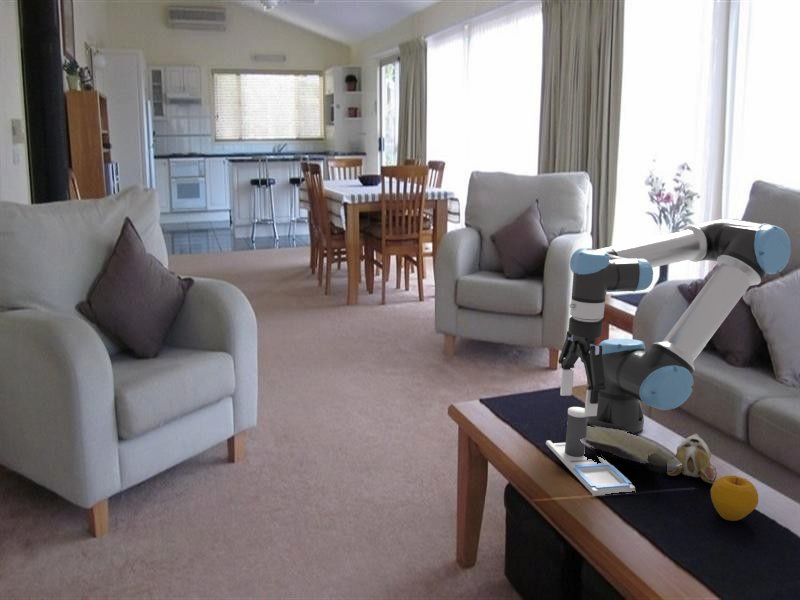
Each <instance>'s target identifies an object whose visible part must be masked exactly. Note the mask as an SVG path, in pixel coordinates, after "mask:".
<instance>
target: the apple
mask: <svg viewBox="0 0 800 600" xmlns="http://www.w3.org/2000/svg"><path fill="white" fill-rule="evenodd" d="M710 498H711V502H712V504H713V507H714V509H715V510H716V512H717V513H718V514H719V516H720V517H721V518H722V519H724V520H726V521H730V522H735V521H740V520H743V519H744V518H745V517H747V516H749V514H751V513H753V512H754V510H755V509H756V508H757V506H758V504H759V493H758V490H757V488H756V487H755V485H754V484H753V483H752V482H751V481H750V480H748V479H747V478H744V477H742V476H737V475H724V476H720V477H719V478H716V479H715V482H713V483H712V486H711V488H710Z"/></svg>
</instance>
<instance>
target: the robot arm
mask: <svg viewBox="0 0 800 600" xmlns="http://www.w3.org/2000/svg"><path fill="white" fill-rule="evenodd" d="M791 251H792V250H791V239H790V237H789V235H788V233H787V232H786V230H784V229H783V228H782V227H781V226H777V225H772V224H770V223H766V222H764V223H760V222H755V221H754V222H753V221H747V220H744V219H743V220H742V219H738V218H725V219H723V218H722V219H716V220H711V221H706V222H700V223H698V224H692V225H688V226H686V227H684V228H683V229H682V230H681V231H679V232H674V233H673V232H672V233H668V234H663V235H658V236H654V237H650V238H646V239H645V238H644V239H642V240H641V239H640V240H635V241H631V242H630V241H629V242H626V243H623V244H622V243H620V244H617V245H613V246H607V247H602V248H598V249H593V248H590V247H582V248H578V249H577V250H575V251H574V252H573V253H572V255H571V257H570V260H569V267H570V271H571V272H572V287H571V300H570V304H569V306H568V307H569V308H570V309H569V311H570V312H569V315H570V317H569V320H568V329H567V331H566V336H565V341H564V344H563V346H562V349H561V352H560V355H559V358H558V364H559V365H560V367H561V369H562V370H561V380H560V381H561V382H560V393H559V395H560V396H562V397H563V396H564V397H567V396H573V392H572V391H573V384H574V375H575V374H574V373H575V370H574V369H575V368H576V367H575V364H576V362H577V361H578V359H579V358H580V362H581V363H583V367H584V371H585V375H586V379H587V383H588V386H587V387H586V393H585V394H586V395H585V403H584V408H585V413H584V416H588V421H587V425H589V424H591V425H596V426H601V427H606V428H613V429H619V430H625V431H629V432H633V434H637V433H639V432H641V431H642V430H644V426H645V425H644V423H645V417H644V414H643V410H642V405H641V404H642V403H641V402H643V403H644V404H645V405H646V406H649V407H652V408H655V409H657V410H661V411H669V410H674V409H677V408H678V407H680V406H682V405H683V404H684V403H685V402H686V401H687V400H688V399H689V397H690V396H691V394H692V392H693V387H692V386H694V378H693V374H694V373H695V369H696V368H695V364H694V361H695V360H696V359H697V358H698V356H699V355H700V353H701V352H702V351H703V350H704V348H705V347H706V345H707V344H708V342H709V341H710V340H711V339H712V337H713V336H714V334H716V332H717V330H718V329H719V328H720V326H721V325H722V324H723V323H724V321H725V320H726V318H727V317H728V316H729V314H730V313H731V311H733V309H734V308H735V306H736V305H737V304H738V303H739V301H740V300H741V298H742V297H743V295H744V294H745V293H746V291H747V290H748V289H749V287H750V286H757V285H759V284H760V283H761V282H762V281H763V279H764V278H765V277H766V276H767V275H776V274H779V273H781V272H782V271H783V270H784V269H785V268H786V267H787V266H788V263H789V261H790V258H791ZM687 260H689V261H690V262H693V263H697V262H702V261H710V262H711V261H712V262H717V266H718V267H717V268H716V270H715V271H714V272H713V273H712V275H710V277H709V279H708V280H707V281H706V283H705V284H704V286H703V287H702V288H701V290H700V291H699V292H698V294H697V295H696V296H695V297H694V299H693V300H692V301H691V303H690V304H689V305H688V307H687V308H686V310H684V312H683V313H682V315H681V316H680V317H679V319H678V320H677V322H676V323H675V324H674V326H672V328H671V330H670V331H669V332H668V334H667V335H666V337H665V338H664V339H663V340H662V341H658V342H653V343H652V345H651V346H650V347H649V348H648V350H647V351H646V349H647V348H646V344H645V342H644V341H642V340H639V339H632V338H609V339H604V340H602V341H601V342H600V343H599V344H598V345H596V339H597V338H599V337H601V335H602V331H603V326H604V325H603V324H604V321H603V318H604V315H605V308H606V307H605V305H606V296H607V293H614V292H615V293H616V292H617V293H618V292H634V293H635V292H639V291H645V290H646V289H648V288H649V287H650V286H651V285H652V282H653V279H654V269H653V268H657V267H661V266H666V265H671V264H674V263H679V262H685V261H687ZM591 425H590V426H591Z"/></svg>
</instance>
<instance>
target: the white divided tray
mask: <svg viewBox="0 0 800 600" xmlns="http://www.w3.org/2000/svg"><path fill="white" fill-rule="evenodd" d="M565 444H566V442H554V443H553V442H552V440H546V441H545V445H546V447H548V448H549V449H550V451H551V452H552V453H553V454H554V455H555V456H556V457H557V458H558V460H560V461H561V462H562V463H563V464H564V466H566V468H567V469H568V470H569V471H570V472H571V473H572V474H573V475H574V476H575V477H576V478H577V480H579V482H580V483H581V484H582V485H583V486H584V487H585V488H586V489H587V490H588V491H589V492H590V493H591V494H590V496H591V497H597V496H606V495H605V494H611V493H619V492H632V491H635V492H636V487H635V485H633V484H632V482H631V481H630V480H629V478H628V477H626V476H625V475H624V474H623V473H622V472H621V471H620V470H618V468H616V467H615V465H613V464H611V463H610V462H608V461H607V460H606V459H605V458H604V457H603V458H604V459H605V460H604V459H603V458H601V457H598V456H597V457H598V459H599V461H600V462H601V463H598V464H597V462H594V461H595V460H594V461H593V460H592V459H588V460H587V457H585V456H581V457H573V456H569V455H567V454H566V453H565Z"/></svg>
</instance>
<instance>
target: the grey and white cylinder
mask: <svg viewBox="0 0 800 600" xmlns="http://www.w3.org/2000/svg"><path fill="white" fill-rule="evenodd" d="M584 413H585V407H581V406H571V407H568V408H567V421H566V432H565V434H566V435H565V443H566V444H565V453H566V454H567V455H569V456H573V457H581V456H584V454H585V445H584V444H582V443H581V441H580V439H582V438H585V437H586V438H587V431H588V430H587V429H588V423H587V421H588V416H584Z"/></svg>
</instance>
